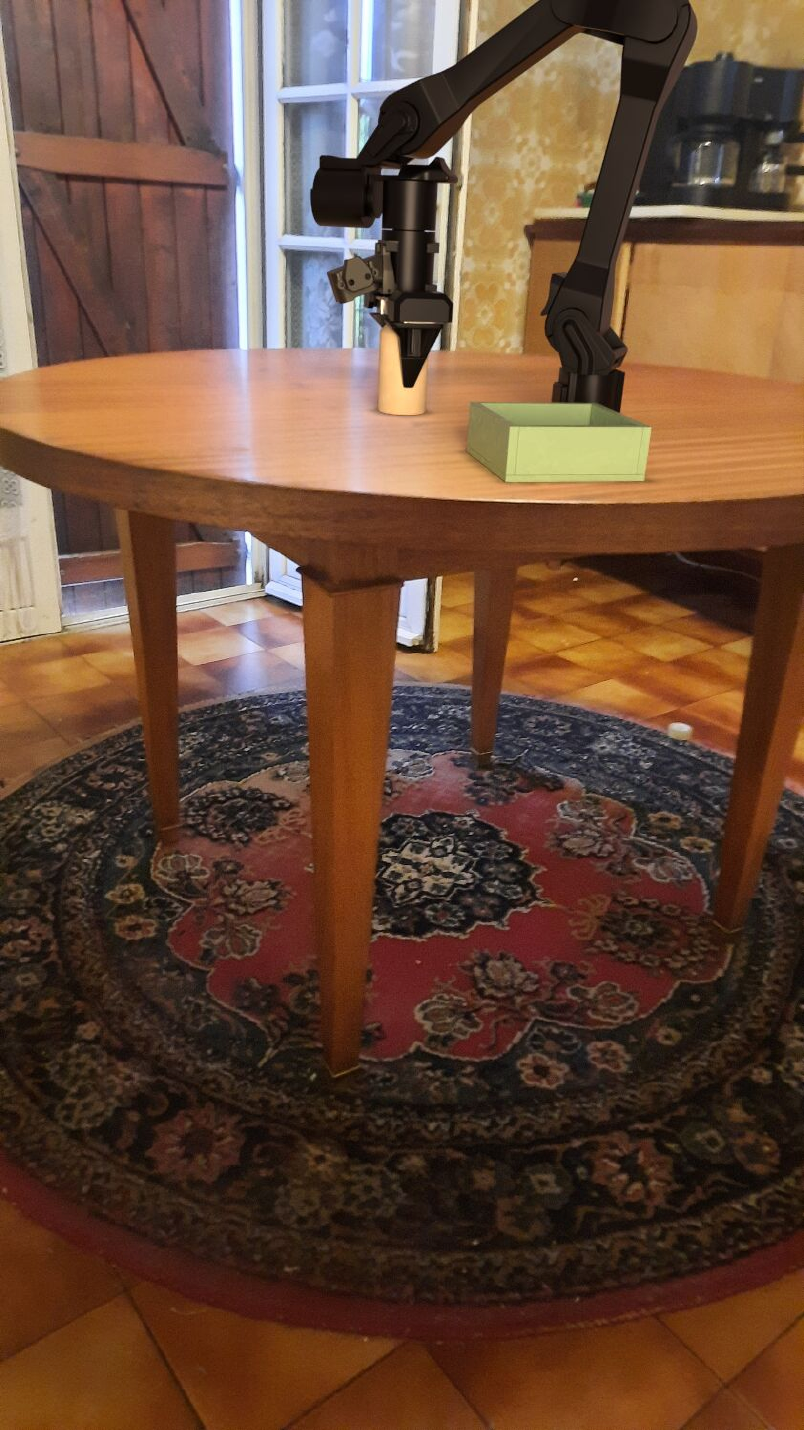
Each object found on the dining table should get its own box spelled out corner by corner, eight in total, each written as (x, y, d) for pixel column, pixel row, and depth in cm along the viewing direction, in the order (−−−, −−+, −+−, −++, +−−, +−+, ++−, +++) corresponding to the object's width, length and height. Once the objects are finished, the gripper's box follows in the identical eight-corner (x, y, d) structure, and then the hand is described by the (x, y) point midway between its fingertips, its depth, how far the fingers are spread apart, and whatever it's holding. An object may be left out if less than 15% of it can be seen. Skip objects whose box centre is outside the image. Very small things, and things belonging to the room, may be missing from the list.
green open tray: (591, 451, 99) (596, 402, 97) (644, 481, 88) (652, 427, 86) (466, 451, 97) (469, 401, 95) (505, 482, 86) (510, 426, 84)
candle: (391, 416, 113) (394, 320, 108) (369, 408, 117) (371, 315, 113) (434, 414, 115) (439, 320, 111) (411, 406, 119) (415, 315, 115)
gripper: (321, 226, 114) (320, 371, 121) (347, 229, 98) (344, 396, 105) (417, 230, 117) (411, 372, 124) (458, 233, 100) (449, 397, 107)
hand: (402, 383), depth 115 cm, fingers closed on candle, 5 cm apart
